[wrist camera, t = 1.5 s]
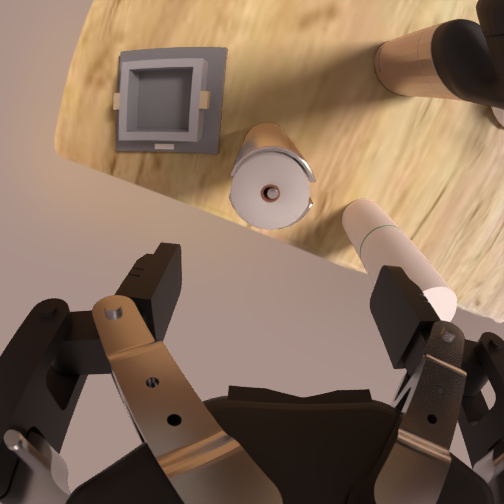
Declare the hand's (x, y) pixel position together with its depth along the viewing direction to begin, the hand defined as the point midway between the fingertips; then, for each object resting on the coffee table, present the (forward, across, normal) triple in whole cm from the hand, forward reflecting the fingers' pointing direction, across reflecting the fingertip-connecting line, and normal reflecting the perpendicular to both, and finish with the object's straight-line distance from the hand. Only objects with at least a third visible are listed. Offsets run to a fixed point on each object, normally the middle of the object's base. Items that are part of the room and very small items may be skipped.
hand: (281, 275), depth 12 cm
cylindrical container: (+36, -17, +10) cm, 41 cm away
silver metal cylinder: (+36, 0, 0) cm, 36 cm away
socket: (+36, +15, -6) cm, 39 cm away
